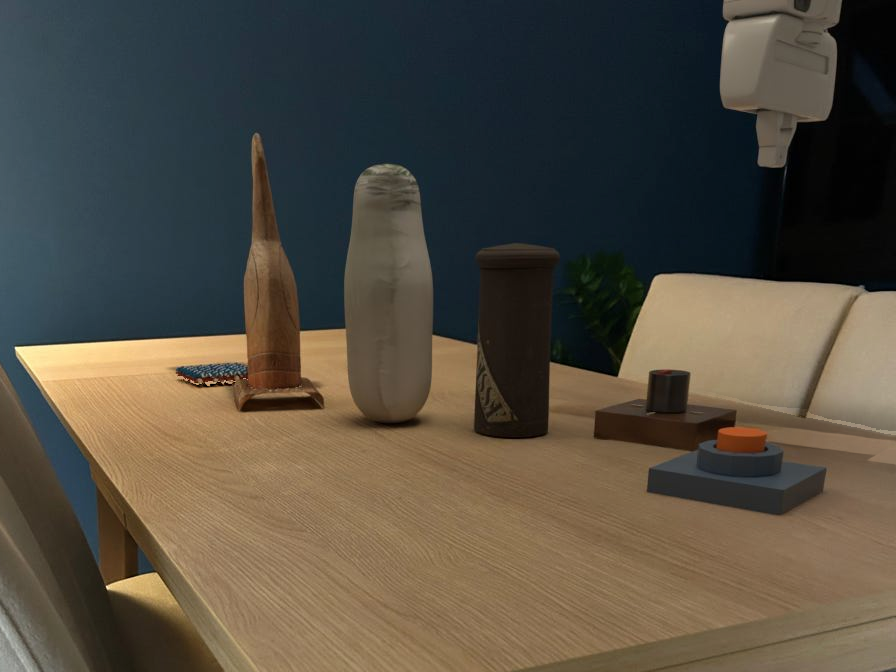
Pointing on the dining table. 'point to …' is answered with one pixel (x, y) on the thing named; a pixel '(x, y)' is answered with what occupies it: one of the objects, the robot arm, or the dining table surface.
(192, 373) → the woven mat
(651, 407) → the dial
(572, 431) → the dining table surface
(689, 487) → the housing
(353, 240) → the grey rounded cylinder
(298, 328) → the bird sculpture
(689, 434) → the dial panel
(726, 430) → the orange push button
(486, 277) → the container
